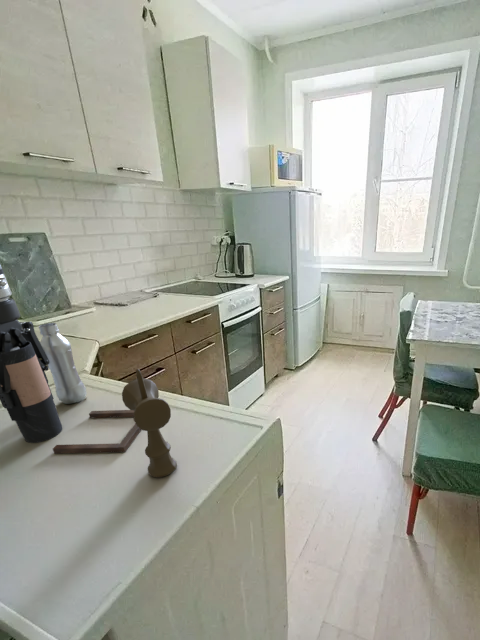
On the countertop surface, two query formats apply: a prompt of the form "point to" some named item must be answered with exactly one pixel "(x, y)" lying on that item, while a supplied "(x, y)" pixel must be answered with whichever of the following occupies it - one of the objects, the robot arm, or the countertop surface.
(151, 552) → the countertop surface
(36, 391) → the travel mug
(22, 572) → the countertop surface
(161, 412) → the kendama
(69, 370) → the plastic bottle
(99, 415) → the frame
